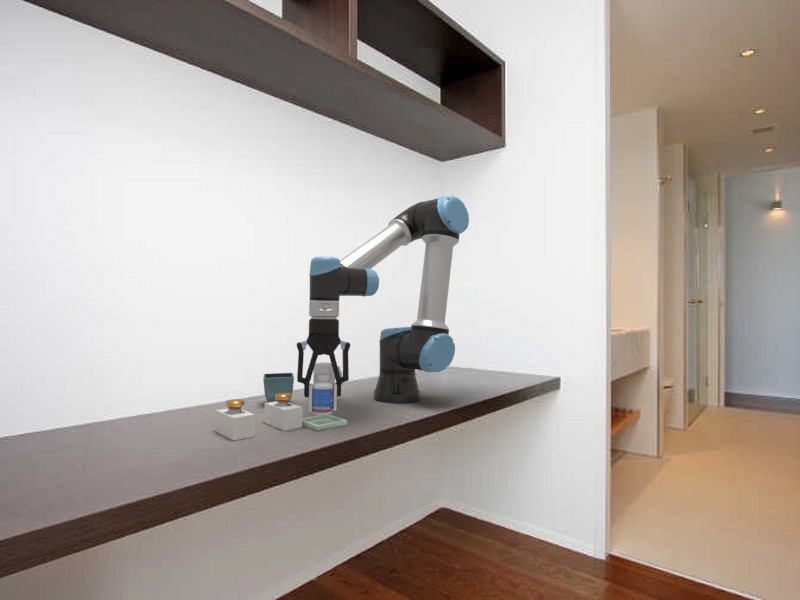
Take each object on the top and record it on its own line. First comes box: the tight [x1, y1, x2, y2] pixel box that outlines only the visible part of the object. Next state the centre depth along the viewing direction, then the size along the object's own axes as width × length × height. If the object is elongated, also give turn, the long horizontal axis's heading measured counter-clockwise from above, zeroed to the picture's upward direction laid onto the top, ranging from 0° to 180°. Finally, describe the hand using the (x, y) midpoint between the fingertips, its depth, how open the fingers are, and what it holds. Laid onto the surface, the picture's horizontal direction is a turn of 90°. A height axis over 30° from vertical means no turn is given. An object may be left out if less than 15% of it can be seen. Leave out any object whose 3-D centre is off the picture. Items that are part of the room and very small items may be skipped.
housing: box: [214, 401, 304, 441], centre depth 113 cm, size 18×10×5 cm, turn 133°
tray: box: [302, 414, 348, 432], centre depth 118 cm, size 9×9×1 cm
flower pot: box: [262, 372, 295, 403], centre depth 141 cm, size 9×9×9 cm
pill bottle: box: [311, 373, 334, 416], centre depth 118 cm, size 6×5×10 cm
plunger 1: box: [225, 398, 245, 415], centre depth 109 cm, size 4×4×7 cm
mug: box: [312, 362, 343, 384], centre depth 146 cm, size 10×7×12 cm, turn 132°
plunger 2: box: [275, 393, 293, 407], centre depth 117 cm, size 4×4×7 cm
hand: (322, 409), depth 118 cm, fingers closed on pill bottle, 5 cm apart
